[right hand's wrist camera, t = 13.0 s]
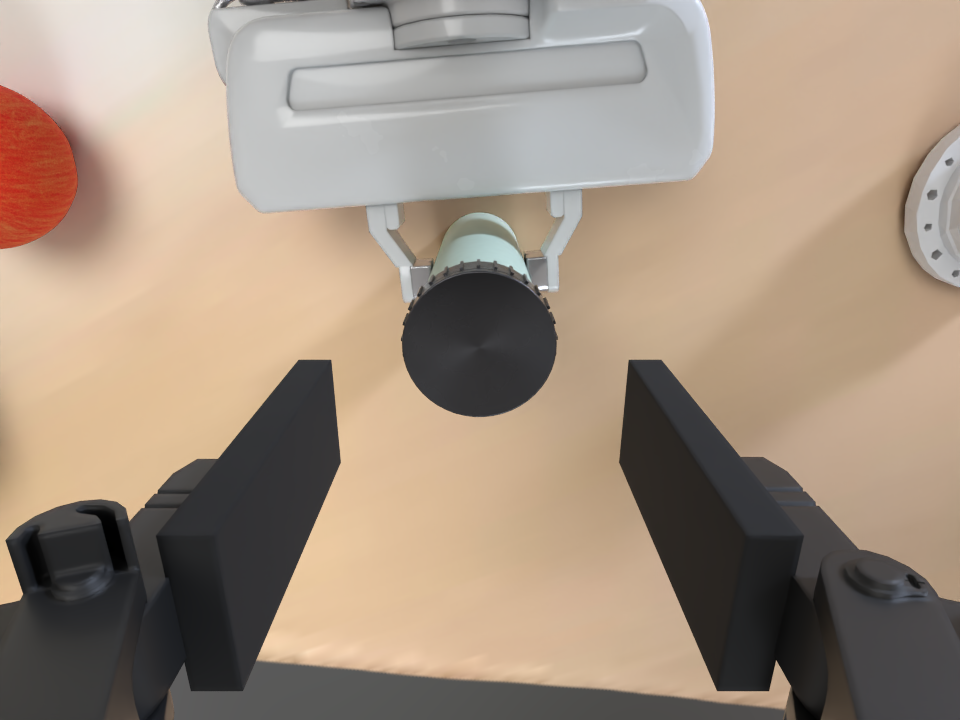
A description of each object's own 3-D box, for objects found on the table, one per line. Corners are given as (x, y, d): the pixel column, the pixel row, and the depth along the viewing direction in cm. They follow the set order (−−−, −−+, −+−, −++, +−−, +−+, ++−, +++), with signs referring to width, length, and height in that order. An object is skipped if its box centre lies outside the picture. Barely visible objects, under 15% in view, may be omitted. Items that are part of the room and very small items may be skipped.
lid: (487, 225, 19) (487, 233, 18) (583, 339, 20) (591, 355, 19) (374, 324, 20) (366, 339, 19) (472, 426, 21) (471, 447, 20)
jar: (483, 195, 33) (486, 245, 18) (533, 255, 35) (576, 349, 19) (425, 247, 34) (381, 336, 19) (476, 303, 36) (472, 430, 20)
